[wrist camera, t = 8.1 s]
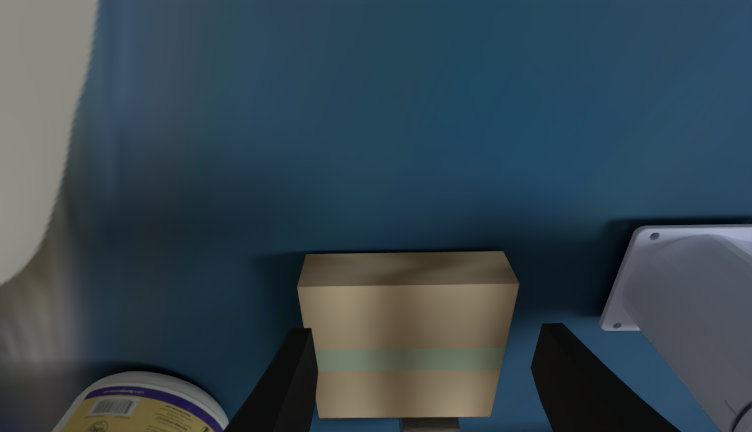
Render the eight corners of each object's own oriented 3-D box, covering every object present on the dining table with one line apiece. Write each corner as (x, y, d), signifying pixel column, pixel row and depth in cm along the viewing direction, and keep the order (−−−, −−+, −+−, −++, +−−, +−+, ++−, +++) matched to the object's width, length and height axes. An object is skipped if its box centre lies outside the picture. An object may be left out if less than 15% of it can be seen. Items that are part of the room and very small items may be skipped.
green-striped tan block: (503, 251, 23) (519, 283, 20) (480, 378, 29) (490, 416, 26) (306, 254, 23) (297, 286, 20) (324, 380, 29) (319, 418, 26)
